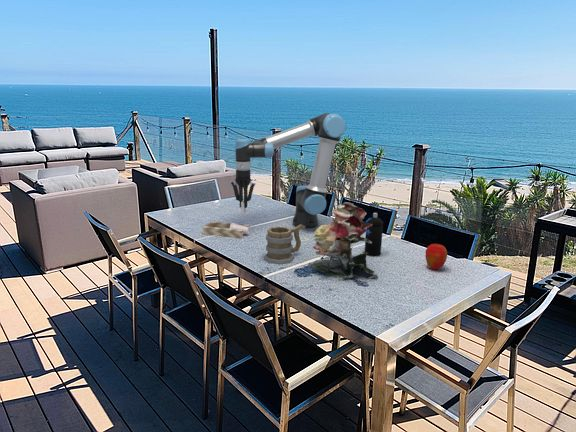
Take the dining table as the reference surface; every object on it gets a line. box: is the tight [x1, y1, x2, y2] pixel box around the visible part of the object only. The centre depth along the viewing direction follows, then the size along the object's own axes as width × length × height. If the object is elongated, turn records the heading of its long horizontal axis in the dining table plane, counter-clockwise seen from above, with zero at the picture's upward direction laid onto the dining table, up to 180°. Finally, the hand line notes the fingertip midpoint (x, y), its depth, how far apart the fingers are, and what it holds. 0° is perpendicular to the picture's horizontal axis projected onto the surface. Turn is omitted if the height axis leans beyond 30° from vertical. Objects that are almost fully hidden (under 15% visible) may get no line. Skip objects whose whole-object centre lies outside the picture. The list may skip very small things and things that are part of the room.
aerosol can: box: [363, 212, 384, 257], centre depth 208 cm, size 8×8×20 cm
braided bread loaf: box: [202, 220, 250, 239], centre depth 237 cm, size 22×12×4 cm, turn 75°
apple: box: [425, 243, 448, 271], centre depth 191 cm, size 9×9×12 cm
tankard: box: [263, 224, 306, 265], centre depth 201 cm, size 20×13×15 cm, turn 117°
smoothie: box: [230, 222, 251, 235], centre depth 235 cm, size 6×6×14 cm
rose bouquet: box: [311, 201, 379, 282], centre depth 186 cm, size 26×29×30 cm
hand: (243, 213), depth 232 cm, fingers closed
